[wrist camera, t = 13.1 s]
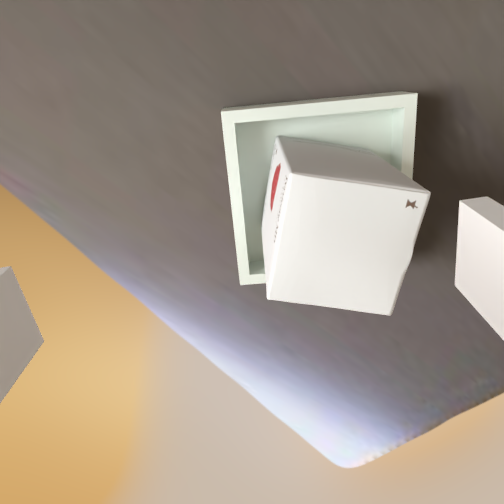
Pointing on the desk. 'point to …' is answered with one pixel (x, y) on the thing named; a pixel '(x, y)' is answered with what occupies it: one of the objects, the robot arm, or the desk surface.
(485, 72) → the desk surface
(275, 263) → the supplement box
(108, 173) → the desk surface
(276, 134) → the tote
